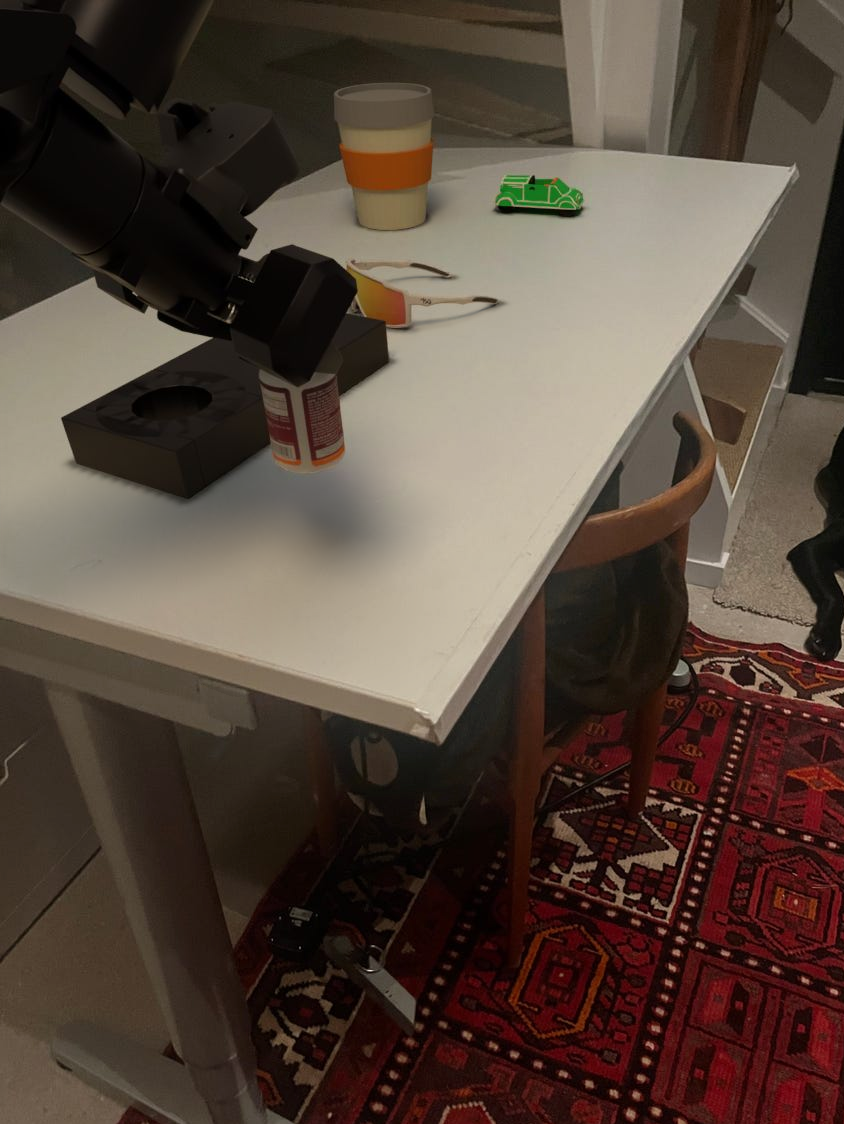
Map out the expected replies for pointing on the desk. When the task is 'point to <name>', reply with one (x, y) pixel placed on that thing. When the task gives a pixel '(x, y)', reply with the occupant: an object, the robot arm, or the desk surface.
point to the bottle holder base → (199, 412)
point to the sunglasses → (396, 293)
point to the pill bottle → (304, 422)
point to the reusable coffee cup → (386, 151)
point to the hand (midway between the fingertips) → (314, 355)
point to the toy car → (537, 194)
